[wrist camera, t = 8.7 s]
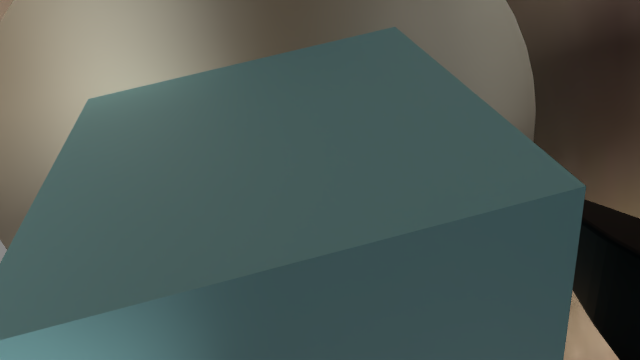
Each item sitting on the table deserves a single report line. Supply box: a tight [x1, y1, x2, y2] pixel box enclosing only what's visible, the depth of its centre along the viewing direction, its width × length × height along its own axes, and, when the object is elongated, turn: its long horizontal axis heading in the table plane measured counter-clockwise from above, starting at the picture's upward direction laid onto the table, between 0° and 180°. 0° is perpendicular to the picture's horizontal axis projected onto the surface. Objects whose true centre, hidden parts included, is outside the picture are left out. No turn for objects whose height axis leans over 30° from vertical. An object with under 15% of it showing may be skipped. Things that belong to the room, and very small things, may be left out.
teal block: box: [0, 27, 586, 360], centre depth 9 cm, size 6×6×6 cm
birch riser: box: [0, 0, 536, 250], centre depth 13 cm, size 12×12×4 cm
